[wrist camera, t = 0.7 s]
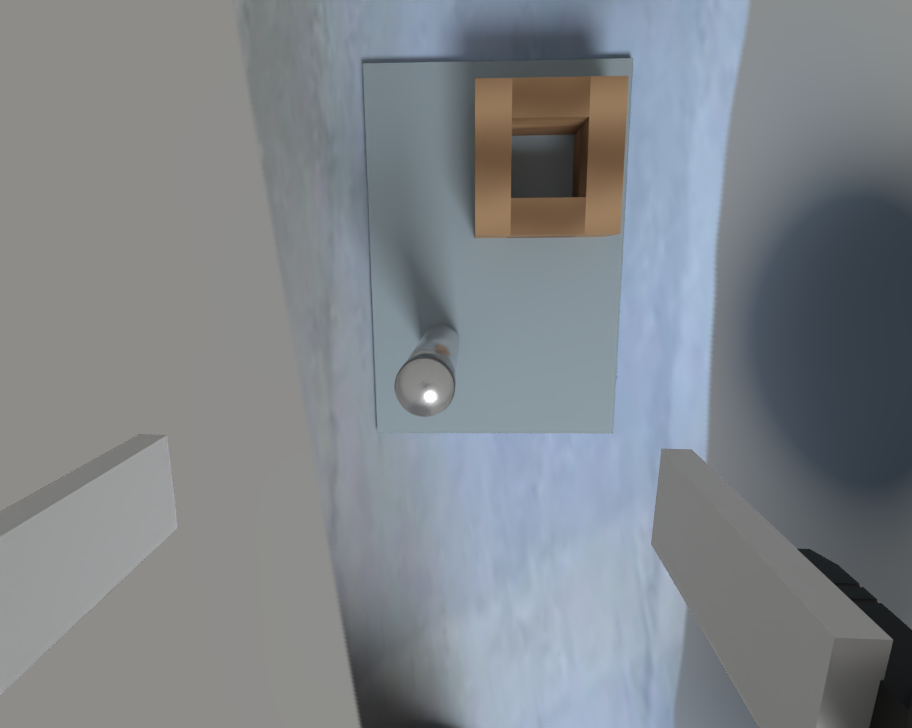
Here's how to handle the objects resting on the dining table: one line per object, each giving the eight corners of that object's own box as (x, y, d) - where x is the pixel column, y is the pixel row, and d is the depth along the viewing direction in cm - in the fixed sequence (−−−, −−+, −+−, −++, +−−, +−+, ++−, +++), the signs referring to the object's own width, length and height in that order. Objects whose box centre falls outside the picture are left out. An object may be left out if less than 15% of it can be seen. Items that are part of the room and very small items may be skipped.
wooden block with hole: (602, 237, 36) (620, 233, 32) (474, 238, 37) (475, 235, 32) (608, 99, 35) (628, 75, 30) (474, 101, 35) (475, 78, 30)
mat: (611, 431, 40) (613, 433, 39) (378, 431, 40) (377, 432, 40) (631, 60, 34) (633, 58, 34) (363, 65, 35) (362, 63, 35)
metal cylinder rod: (460, 361, 38) (455, 417, 25) (421, 362, 38) (394, 417, 25) (460, 323, 38) (454, 358, 24) (421, 323, 38) (392, 358, 24)
